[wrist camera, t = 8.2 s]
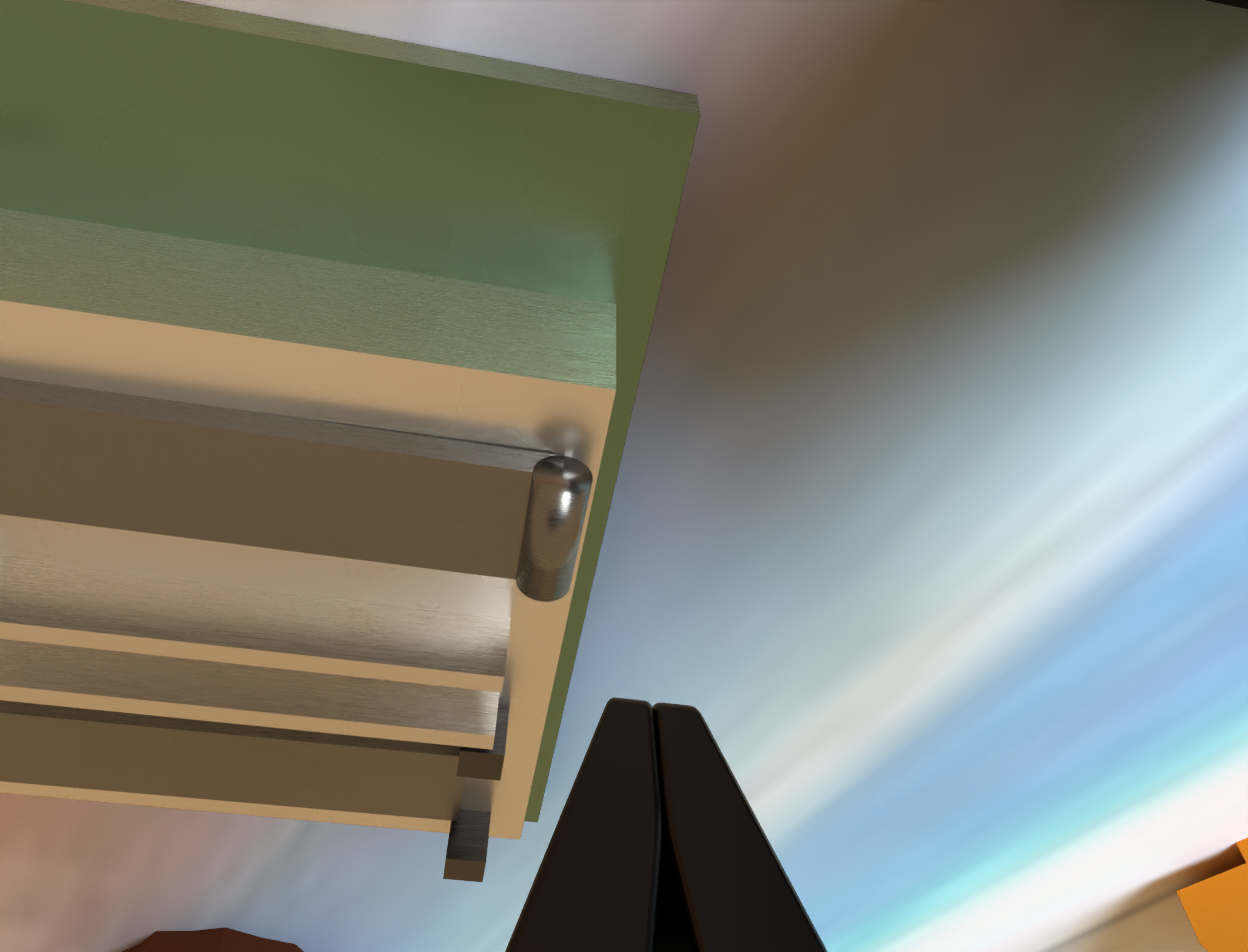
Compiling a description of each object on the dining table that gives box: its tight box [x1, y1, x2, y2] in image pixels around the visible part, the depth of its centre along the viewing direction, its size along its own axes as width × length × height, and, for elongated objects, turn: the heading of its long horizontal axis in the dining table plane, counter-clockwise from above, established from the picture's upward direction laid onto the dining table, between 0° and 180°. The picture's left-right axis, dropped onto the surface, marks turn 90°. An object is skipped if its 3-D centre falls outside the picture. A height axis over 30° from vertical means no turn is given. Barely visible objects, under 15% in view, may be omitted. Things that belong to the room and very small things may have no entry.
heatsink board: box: [0, 0, 700, 882], centre depth 22 cm, size 16×23×6 cm
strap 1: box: [0, 377, 593, 602], centre depth 18 cm, size 13×3×1 cm, turn 80°
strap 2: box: [0, 700, 465, 821], centre depth 24 cm, size 13×3×1 cm, turn 80°
